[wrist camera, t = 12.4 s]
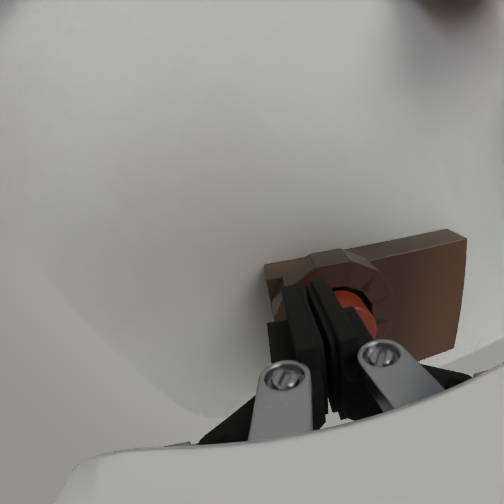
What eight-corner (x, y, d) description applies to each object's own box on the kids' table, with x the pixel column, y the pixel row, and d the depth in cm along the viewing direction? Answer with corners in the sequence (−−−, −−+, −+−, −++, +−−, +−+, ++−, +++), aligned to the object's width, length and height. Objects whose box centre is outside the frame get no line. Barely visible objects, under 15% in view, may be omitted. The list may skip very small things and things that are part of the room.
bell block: (284, 372, 19) (290, 414, 16) (261, 248, 17) (264, 276, 13) (439, 332, 19) (466, 362, 15) (447, 214, 16) (486, 230, 12)
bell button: (308, 348, 15) (314, 370, 13) (301, 296, 14) (308, 315, 12) (365, 335, 14) (376, 355, 13) (364, 283, 13) (377, 300, 12)
